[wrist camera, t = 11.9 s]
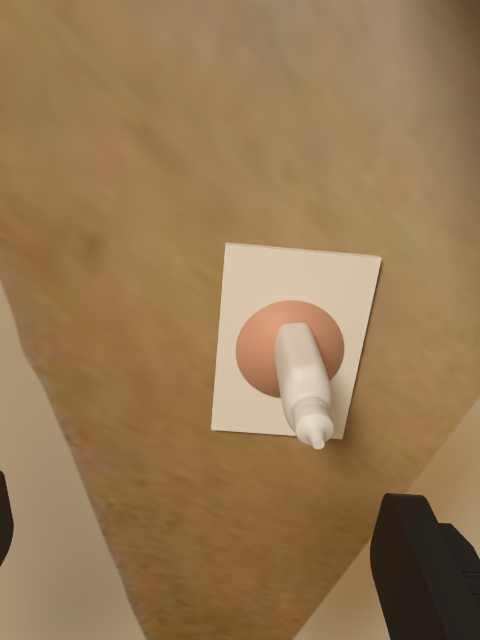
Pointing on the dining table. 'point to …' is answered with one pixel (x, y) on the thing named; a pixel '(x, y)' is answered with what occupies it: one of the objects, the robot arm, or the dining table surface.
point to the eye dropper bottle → (303, 384)
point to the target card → (282, 308)
